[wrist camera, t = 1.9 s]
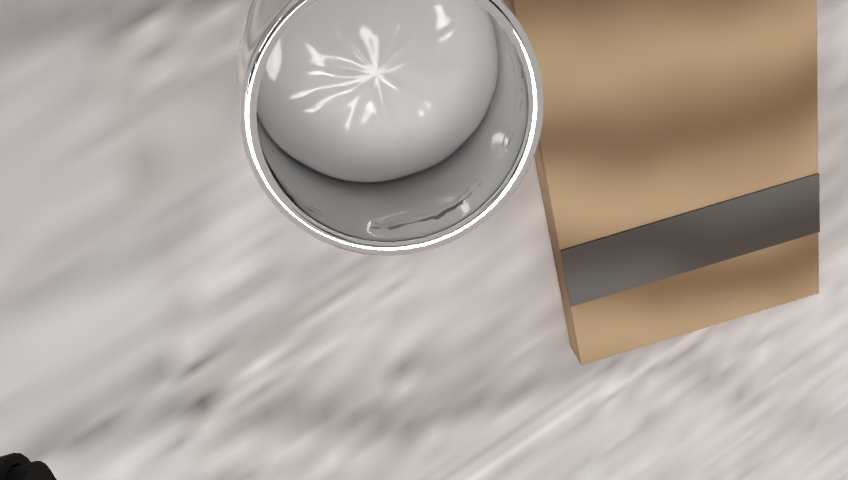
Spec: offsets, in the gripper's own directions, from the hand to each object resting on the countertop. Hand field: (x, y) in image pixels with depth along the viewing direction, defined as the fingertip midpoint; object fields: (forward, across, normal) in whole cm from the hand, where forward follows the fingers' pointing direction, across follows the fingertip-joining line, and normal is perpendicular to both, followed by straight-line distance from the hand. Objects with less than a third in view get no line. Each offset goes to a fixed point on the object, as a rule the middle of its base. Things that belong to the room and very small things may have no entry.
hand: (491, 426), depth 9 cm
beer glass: (+25, 0, 0) cm, 25 cm away
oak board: (+24, -12, +7) cm, 28 cm away
